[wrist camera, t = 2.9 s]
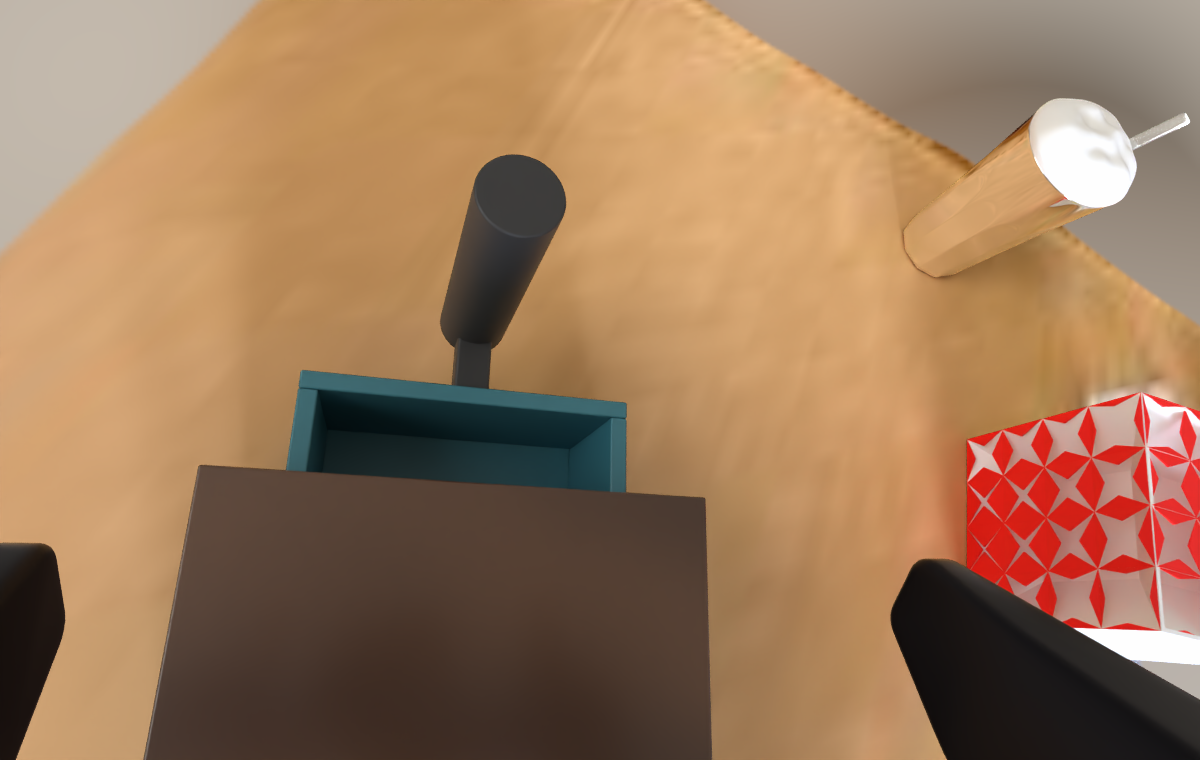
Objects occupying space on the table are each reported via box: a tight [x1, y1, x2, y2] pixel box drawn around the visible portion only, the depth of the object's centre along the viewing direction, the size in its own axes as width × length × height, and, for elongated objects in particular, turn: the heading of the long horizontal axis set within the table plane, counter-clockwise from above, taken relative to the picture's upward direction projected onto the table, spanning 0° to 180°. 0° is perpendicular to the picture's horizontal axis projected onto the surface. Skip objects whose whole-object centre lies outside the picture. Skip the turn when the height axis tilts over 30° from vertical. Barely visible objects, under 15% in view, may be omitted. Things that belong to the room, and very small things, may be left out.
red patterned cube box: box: [967, 392, 1200, 665], centre depth 28 cm, size 8×8×8 cm
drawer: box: [286, 155, 627, 492], centre depth 19 cm, size 14×9×12 cm, turn 178°
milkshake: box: [903, 98, 1190, 278], centre depth 30 cm, size 5×5×10 cm
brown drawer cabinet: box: [143, 465, 712, 760], centre depth 19 cm, size 12×12×8 cm
